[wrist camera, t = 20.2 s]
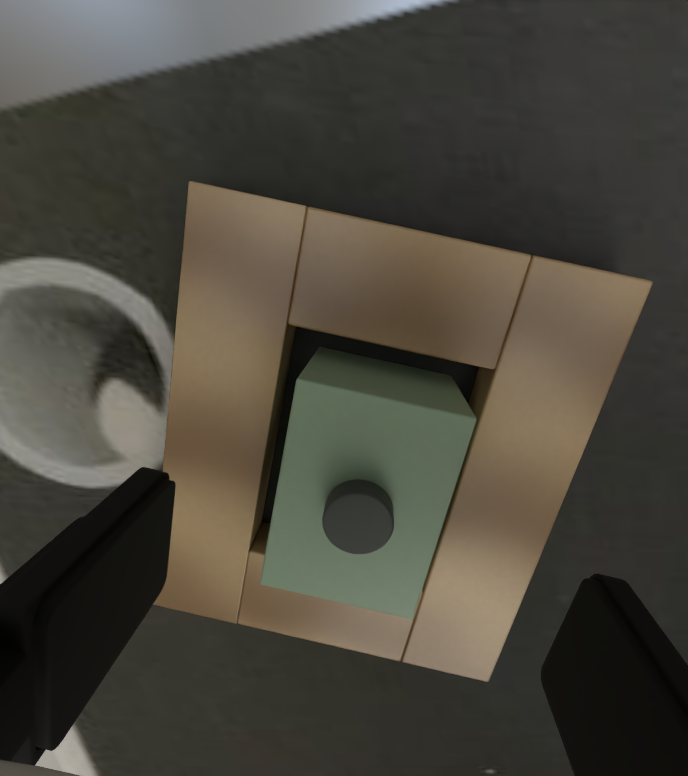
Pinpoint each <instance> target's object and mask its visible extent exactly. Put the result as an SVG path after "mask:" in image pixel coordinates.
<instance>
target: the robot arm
mask: <svg viewBox="0 0 688 776" xmlns="http://www.w3.org/2000/svg"><path fill="white" fill-rule="evenodd" d="M169 479H170V477H169V474H168V473H167V472H162V471H158V470H154V469H150V468H145V467H142V468H140V469H139V470H137V471H136V472H135V473H134V474H133V475H132V476H131V477H129V478H128V479H127V480H126V481H125V482H124V483H123V484H121V485H120V486H119V487H118V488H117V489H116V490H115V491H113V492H112V493H111V494H110V495H109V496H108V497H107V498H105V499H104V500H103V501H102V502H101V503H100V504H99V505H97V506H96V507H95V508H94V509H93V510H92V511H91V512H89V513H88V514H87V515H86V516H84V517H80V518H78V519H77V520H75V521H74V522H73V523H72V524H70V525H69V526H68V527H67V528H66V529H65V530H63V531H62V532H61V533H60V534H59V535H58V536H56V537H55V538H54V539H53V540H52V541H51V542H49V543H48V544H47V545H46V546H45V547H44V548H42V549H41V550H40V551H39V552H38V553H37V554H35V555H34V556H33V557H32V558H31V559H30V560H28V561H27V562H26V563H25V564H24V565H23V566H21V567H20V568H19V569H18V570H17V571H16V572H14V573H13V574H12V575H11V576H10V577H9V578H7V579H6V580H5V581H4V582H3V583H2V584H0V776H79V775H75V774H70V773H66V772H61V771H57V770H53V769H48V768H44V767H39V766H35V764H36V763H37V761H38V760H39V759H40V757H41V756H42V754H43V753H44V751H45V750H46V749H47V750H51V751H52V750H54V749H55V748H56V747H57V746H58V745H59V744H60V743H61V741H62V740H63V739H64V737H65V736H66V734H67V733H68V731H69V730H70V728H71V727H72V725H73V724H74V722H75V721H76V719H77V718H78V716H79V715H80V713H81V712H82V710H83V709H84V707H85V706H86V704H87V703H88V701H89V700H90V698H91V697H92V695H93V694H94V692H95V691H96V689H97V688H98V686H99V685H100V683H101V682H102V680H103V679H104V677H105V675H106V674H107V672H108V671H109V669H110V668H111V666H112V665H113V663H114V662H115V660H116V659H117V657H118V656H119V654H120V653H121V651H122V650H123V648H124V647H125V645H126V644H127V642H128V641H129V639H130V638H131V636H132V635H133V633H134V632H135V630H136V629H137V627H138V626H139V624H140V623H141V621H142V620H143V618H144V617H145V615H146V614H147V612H148V611H149V609H150V608H151V606H152V605H153V603H154V602H155V600H156V599H157V597H158V596H159V594H160V593H161V591H162V589H163V587H164V584H165V582H166V578H167V571H168V561H169V550H170V540H171V530H172V519H173V509H174V499H175V488H176V484H175V482H174V481H172V480H169ZM541 681H542V685H543V689H544V691H545V694H546V697H547V700H548V702H549V705H550V708H551V711H552V714H553V716H554V719H555V722H556V725H557V728H558V730H559V733H560V736H561V739H562V741H563V744H564V747H565V750H566V753H567V755H568V758H569V761H570V764H571V767H572V769H573V772H574V775H575V776H688V665H687V664H686V662H685V661H684V660H683V658H682V657H681V656H680V654H679V653H678V651H677V650H676V649H675V647H674V646H673V645H672V643H671V642H670V640H669V639H668V638H667V636H666V635H665V634H664V632H663V631H662V629H661V628H660V627H659V625H658V624H657V623H656V621H655V620H654V618H653V617H652V616H651V614H650V613H649V612H648V610H647V609H646V608H645V606H644V605H643V603H642V602H641V601H640V599H639V598H638V597H637V595H636V594H635V592H634V591H633V590H632V588H631V587H630V586H629V584H628V583H627V582H626V581H624V580H622V579H618V578H614V577H609V576H605V575H601V574H594V575H592V576H591V577H590V579H588V578H587V579H584V580H583V581H582V583H581V585H580V587H579V589H578V591H577V593H576V595H575V597H574V599H573V602H572V604H571V606H570V608H569V610H568V612H567V614H566V617H565V619H564V621H563V623H562V625H561V627H560V629H559V632H558V634H557V636H556V638H555V640H554V642H553V644H552V647H551V649H550V651H549V653H548V655H547V657H546V659H545V661H544V664H543V666H542V670H541Z"/></svg>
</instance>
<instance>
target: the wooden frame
mask: <svg viewBox="0 0 688 776" xmlns="http://www.w3.org/2000/svg"><path fill="white" fill-rule="evenodd" d="M651 286H652V281H650V280H646V279H642V278H637V277H633V276H628V275H623V274H619V273H614V272H609V271H605V270H600V269H596V268H591V267H586V266H582V265H577V264H573V263H568V262H563V261H559V260H554V259H549V258H545V257H540V256H536V255H532V256H531V255H529V254H526V253H522V252H517V251H512V250H508V249H503V248H498V247H494V246H489V245H485V244H480V243H475V242H471V241H466V240H461V239H457V238H452V237H448V236H443V235H438V234H434V233H429V232H425V231H420V230H415V229H411V228H406V227H401V226H397V225H392V224H388V223H383V222H378V221H374V220H369V219H364V218H360V217H355V216H351V215H346V214H341V213H337V212H332V211H327V210H323V209H318V208H314V207H307V206H305V205H300V204H296V203H291V202H286V201H282V200H277V199H273V198H268V197H263V196H259V195H254V194H249V193H245V192H240V191H236V190H231V189H226V188H222V187H217V186H213V185H208V184H203V183H199V182H194V181H189V187H188V198H187V209H186V220H185V231H184V242H183V253H182V264H181V275H180V286H179V297H178V308H177V319H176V330H175V341H174V352H173V363H172V374H171V385H170V396H169V407H168V418H167V429H166V440H165V451H164V462H163V472H167V473H168V474H169V477H170V479H169V480H172V481H174V482H175V484H176V488H175V499H174V509H173V519H172V530H171V540H170V550H169V561H168V571H167V578H166V582H165V584H164V587H163V589H162V591H161V593H160V594H159V596H158V597H157V599H156V600H155V602H154V603H153V604H154V605H158V606H162V607H167V608H171V609H175V610H180V611H184V612H188V613H192V614H197V615H201V616H205V617H210V618H214V619H218V620H222V621H227V622H231V623H235V624H236V623H237V621H238V623H239V624H242V625H246V626H251V627H255V628H259V629H263V630H268V631H272V632H276V633H280V634H285V635H289V636H293V637H298V638H302V639H306V640H310V641H315V642H319V643H323V644H327V645H332V646H336V647H340V648H345V649H349V650H353V651H357V652H362V653H366V654H370V655H375V656H379V657H383V658H387V659H392V660H396V661H401V660H402V662H404V663H408V664H412V665H417V666H421V667H425V668H430V669H434V670H438V671H442V672H447V673H451V674H455V675H460V676H464V677H468V678H472V679H477V680H481V681H485V682H488V681H489V680H490V677H491V675H492V672H493V670H494V667H495V665H496V663H497V660H498V658H499V655H500V653H501V650H502V648H503V646H504V643H505V641H506V638H507V636H508V633H509V631H510V629H511V626H512V624H513V621H514V619H515V616H516V614H517V612H518V609H519V607H520V604H521V602H522V599H523V597H524V595H525V592H526V590H527V587H528V585H529V582H530V580H531V578H532V575H533V573H534V570H535V568H536V565H537V563H538V561H539V558H540V556H541V553H542V551H543V548H544V546H545V544H546V541H547V539H548V536H549V534H550V531H551V529H552V527H553V524H554V522H555V519H556V517H557V514H558V512H559V510H560V507H561V505H562V502H563V500H564V497H565V495H566V493H567V490H568V488H569V485H570V483H571V480H572V478H573V476H574V473H575V471H576V468H577V466H578V463H579V461H580V459H581V456H582V454H583V451H584V449H585V446H586V444H587V442H588V439H589V437H590V434H591V432H592V429H593V427H594V425H595V422H596V420H597V417H598V415H599V412H600V410H601V408H602V405H603V403H604V400H605V398H606V395H607V393H608V391H609V388H610V386H611V383H612V381H613V378H614V376H615V374H616V371H617V369H618V366H619V364H620V361H621V359H622V357H623V354H624V352H625V349H626V347H627V344H628V342H629V340H630V337H631V335H632V332H633V330H634V327H635V325H636V323H637V320H638V318H639V315H640V313H641V310H642V308H643V306H644V303H645V301H646V298H647V296H648V293H649V291H650V289H651ZM296 326H297V327H301V328H306V329H310V330H315V331H319V332H324V333H328V334H333V335H337V336H342V337H347V338H351V339H356V340H360V341H365V342H369V343H374V344H378V345H383V346H387V347H392V348H396V349H401V350H405V351H410V352H414V353H419V354H423V355H428V356H432V357H437V358H441V359H446V360H450V361H455V362H459V363H464V364H468V365H473V366H478V367H479V370H478V373H477V376H476V380H475V383H474V386H473V389H472V392H471V396H470V399H469V402H468V405H469V407H470V408H471V410H472V412H473V413H474V415H475V417H476V423H475V426H474V429H473V432H472V436H471V439H470V442H469V445H468V448H467V451H466V454H465V457H464V461H463V464H462V467H461V470H460V473H459V476H458V479H457V482H456V486H455V489H454V492H453V495H452V498H451V501H450V504H449V507H448V511H447V514H446V517H445V520H444V523H443V526H442V529H441V532H440V536H439V539H438V542H437V545H436V548H435V551H434V554H433V557H432V560H431V564H430V567H429V570H428V573H427V576H426V579H425V582H424V585H423V589H422V592H421V595H420V598H419V601H418V604H417V607H416V610H415V614H414V617H413V619H408V618H404V617H400V616H395V615H391V614H387V613H382V612H378V611H374V610H369V609H365V608H361V607H356V606H352V605H348V604H343V603H339V602H335V601H330V600H326V599H322V598H318V597H313V596H309V595H305V594H300V593H296V592H292V591H287V590H283V589H279V588H274V587H270V586H266V585H261V584H260V579H261V573H262V568H263V562H264V557H265V551H266V546H267V540H268V534H269V529H270V523H265V522H263V523H262V519H263V513H264V507H265V502H266V496H267V490H268V484H269V479H270V473H271V467H272V462H273V456H274V450H275V444H276V439H277V433H278V427H279V422H280V416H281V410H282V404H283V399H284V393H285V387H286V382H287V376H288V370H289V364H290V359H291V353H292V347H293V342H294V336H295V330H296Z"/></svg>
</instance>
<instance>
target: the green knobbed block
mask: <svg viewBox="0 0 688 776" xmlns="http://www.w3.org/2000/svg"><path fill="white" fill-rule="evenodd" d="M475 423H476V417H475V415H474V413H473V412H472V410H471V408H470V407H469V405H468V403H467V402H466V400H465V398H464V396H463V395H462V393H461V391H460V390H459V388H458V386H457V384H456V383H455V381H454V379H453V378H452V376H451V375H447V374H442V373H438V372H433V371H429V370H424V369H420V368H415V367H411V366H406V365H402V364H397V363H392V362H388V361H383V360H379V359H374V358H370V357H365V356H361V355H356V354H352V353H347V352H343V351H338V350H334V349H329V348H324V347H319V348H318V349H317V351H316V352H315V354H314V355H313V357H312V358H311V359H310V361H309V362H308V364H307V365H306V367H305V368H304V370H303V371H302V372H301V374H300V375H299V377H298V378H297V380H296V384H295V390H294V396H293V401H292V407H291V412H290V418H289V423H288V429H287V434H286V440H285V446H284V451H283V457H282V462H281V468H280V473H279V479H278V484H277V490H276V496H275V501H274V507H273V512H272V518H271V523H270V529H269V534H268V540H267V546H266V551H265V557H264V562H263V568H262V573H261V579H260V584H261V585H266V586H270V587H274V588H279V589H283V590H287V591H292V592H296V593H300V594H305V595H309V596H313V597H318V598H322V599H326V600H330V601H335V602H339V603H343V604H348V605H352V606H356V607H361V608H365V609H369V610H374V611H378V612H382V613H387V614H391V615H395V616H400V617H404V618H408V619H413V617H414V614H415V610H416V607H417V604H418V601H419V598H420V595H421V592H422V589H423V585H424V582H425V579H426V576H427V573H428V570H429V567H430V564H431V560H432V557H433V554H434V551H435V548H436V545H437V542H438V539H439V536H440V532H441V529H442V526H443V523H444V520H445V517H446V514H447V511H448V507H449V504H450V501H451V498H452V495H453V492H454V489H455V486H456V482H457V479H458V476H459V473H460V470H461V467H462V464H463V461H464V457H465V454H466V451H467V448H468V445H469V442H470V439H471V436H472V432H473V429H474V426H475Z"/></svg>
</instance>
